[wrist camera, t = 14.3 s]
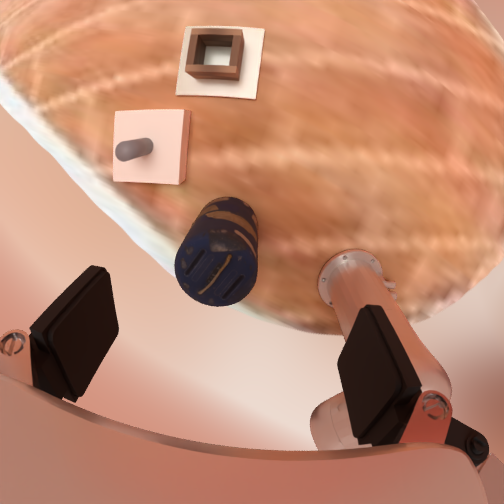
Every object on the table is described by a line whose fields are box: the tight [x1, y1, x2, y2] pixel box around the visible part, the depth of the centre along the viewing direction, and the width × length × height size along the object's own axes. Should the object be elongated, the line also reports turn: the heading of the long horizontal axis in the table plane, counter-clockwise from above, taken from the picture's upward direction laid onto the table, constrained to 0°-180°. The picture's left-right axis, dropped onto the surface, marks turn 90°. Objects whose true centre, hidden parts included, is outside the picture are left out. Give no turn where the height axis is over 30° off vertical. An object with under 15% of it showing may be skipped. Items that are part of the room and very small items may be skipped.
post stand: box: [113, 109, 191, 185], centre depth 34 cm, size 11×11×11 cm
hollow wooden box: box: [185, 28, 245, 81], centre depth 30 cm, size 7×7×6 cm
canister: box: [175, 197, 258, 307], centre depth 37 cm, size 10×10×18 cm
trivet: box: [176, 26, 265, 100], centre depth 33 cm, size 12×12×1 cm
